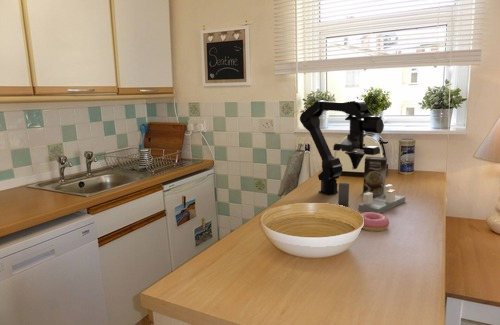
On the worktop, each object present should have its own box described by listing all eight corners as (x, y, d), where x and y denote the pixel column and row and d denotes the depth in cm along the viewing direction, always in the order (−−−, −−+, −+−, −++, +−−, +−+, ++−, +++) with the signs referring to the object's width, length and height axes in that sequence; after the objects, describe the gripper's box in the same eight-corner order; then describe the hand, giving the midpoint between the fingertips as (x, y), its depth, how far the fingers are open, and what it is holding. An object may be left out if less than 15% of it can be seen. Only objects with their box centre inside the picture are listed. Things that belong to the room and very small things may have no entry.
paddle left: (362, 203, 142) (363, 193, 141) (367, 201, 144) (368, 191, 143) (367, 204, 140) (368, 194, 140) (372, 202, 143) (373, 192, 142)
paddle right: (383, 195, 152) (384, 185, 152) (387, 193, 155) (388, 184, 154) (388, 196, 151) (388, 186, 150) (392, 194, 153) (392, 185, 153)
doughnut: (389, 234, 119) (390, 222, 118) (354, 231, 122) (354, 219, 121) (388, 223, 129) (389, 211, 128) (355, 220, 132) (356, 208, 131)
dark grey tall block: (336, 205, 148) (336, 184, 146) (341, 203, 150) (342, 182, 148) (344, 207, 145) (345, 185, 143) (350, 205, 147) (351, 183, 145)
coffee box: (362, 194, 162) (364, 158, 159) (363, 190, 168) (365, 155, 165) (384, 196, 159) (386, 159, 155) (385, 192, 164) (387, 157, 161)
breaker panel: (358, 209, 142) (358, 204, 142) (386, 197, 157) (386, 192, 156) (377, 214, 137) (378, 209, 136) (404, 201, 151) (405, 196, 151)
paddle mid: (385, 202, 144) (386, 191, 143) (389, 200, 146) (390, 189, 145) (390, 203, 142) (390, 192, 141) (394, 201, 144) (395, 190, 144)
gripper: (326, 131, 152) (325, 168, 155) (367, 135, 138) (365, 175, 141) (341, 129, 159) (340, 164, 162) (381, 132, 146) (379, 171, 149)
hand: (355, 168), depth 153 cm, fingers closed
